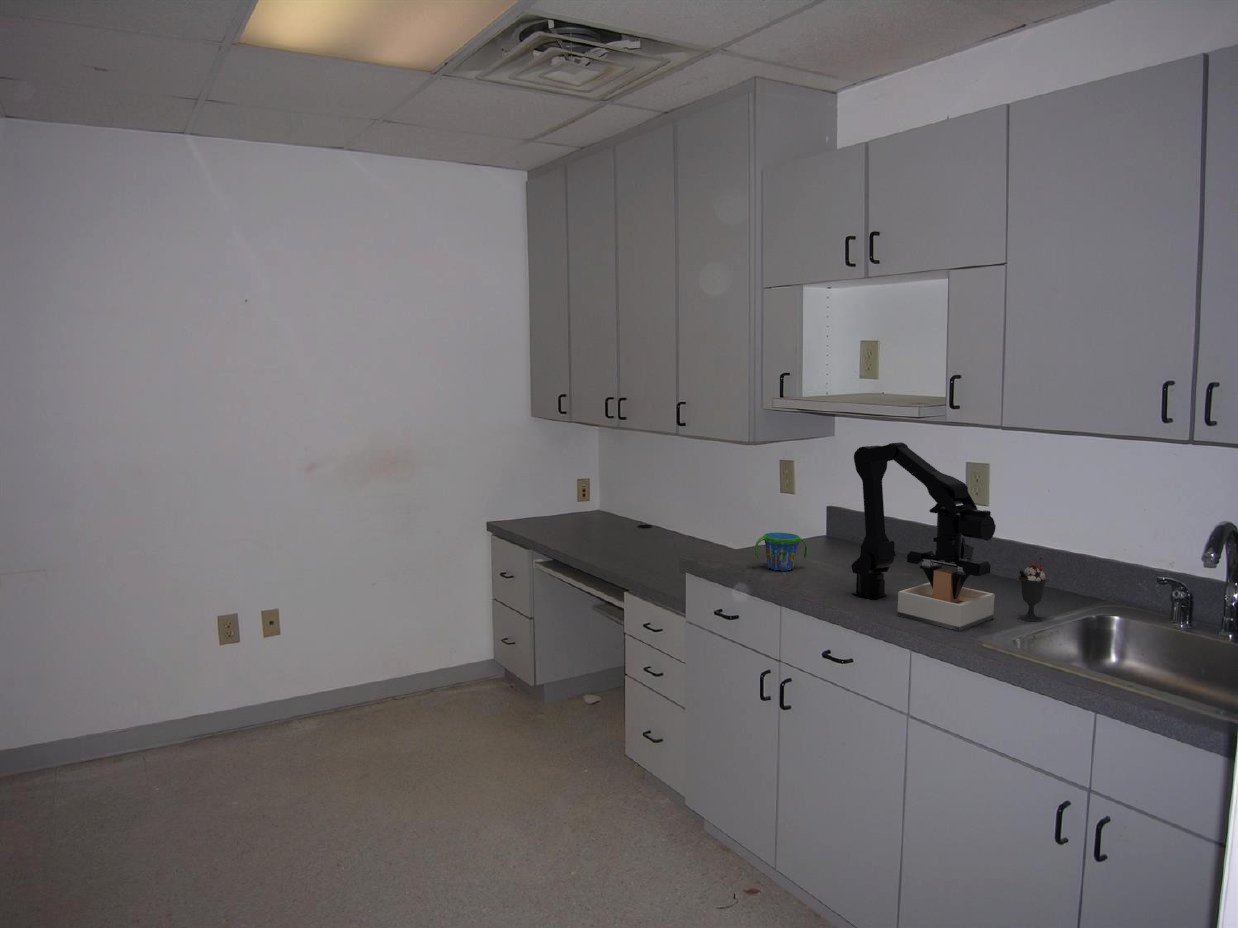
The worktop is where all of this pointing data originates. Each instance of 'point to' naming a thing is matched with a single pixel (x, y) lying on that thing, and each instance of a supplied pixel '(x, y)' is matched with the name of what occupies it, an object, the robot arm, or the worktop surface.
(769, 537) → the snack cup
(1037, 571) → the sundae
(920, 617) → the socket box
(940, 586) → the peg
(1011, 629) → the worktop surface
